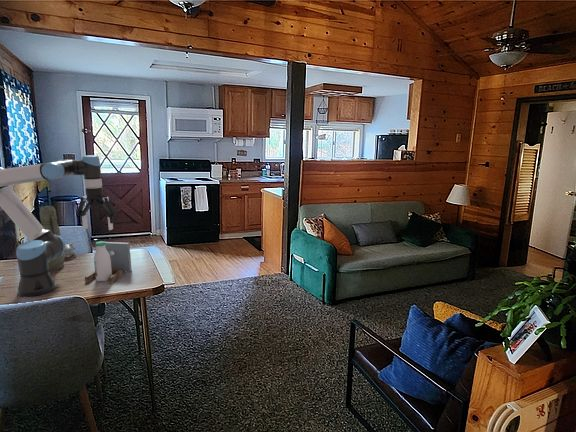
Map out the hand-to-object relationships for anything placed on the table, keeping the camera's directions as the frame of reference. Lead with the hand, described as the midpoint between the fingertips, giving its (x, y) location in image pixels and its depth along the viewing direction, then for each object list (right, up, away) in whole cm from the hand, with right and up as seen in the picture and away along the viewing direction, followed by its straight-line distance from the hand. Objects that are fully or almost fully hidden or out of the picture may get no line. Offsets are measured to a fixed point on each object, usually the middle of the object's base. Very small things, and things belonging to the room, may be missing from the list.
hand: (98, 229), depth 192 cm
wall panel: (+2, -24, +16) cm, 29 cm away
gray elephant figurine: (-39, -18, +41) cm, 60 cm away
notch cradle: (0, -26, +6) cm, 27 cm away
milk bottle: (0, -26, +6) cm, 27 cm away
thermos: (-35, -23, +22) cm, 47 cm away
